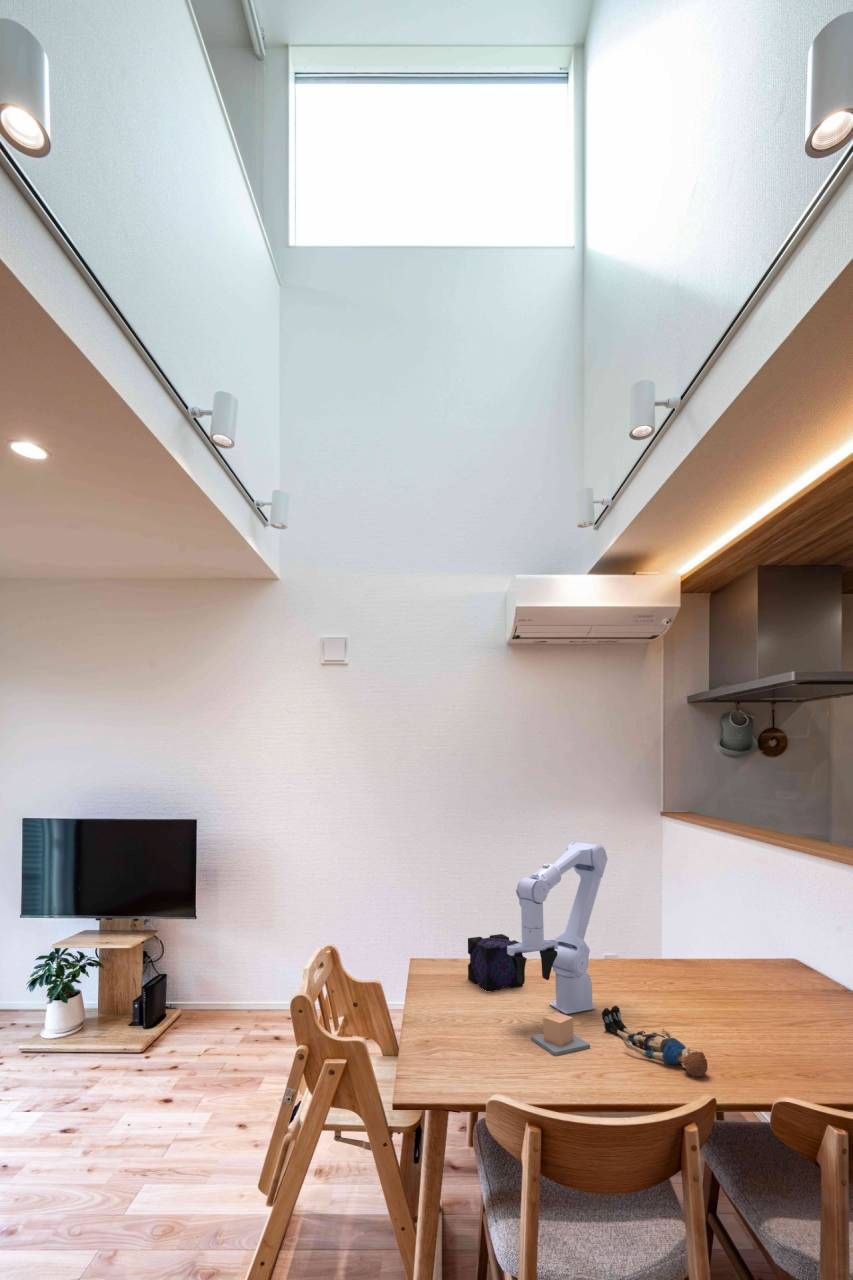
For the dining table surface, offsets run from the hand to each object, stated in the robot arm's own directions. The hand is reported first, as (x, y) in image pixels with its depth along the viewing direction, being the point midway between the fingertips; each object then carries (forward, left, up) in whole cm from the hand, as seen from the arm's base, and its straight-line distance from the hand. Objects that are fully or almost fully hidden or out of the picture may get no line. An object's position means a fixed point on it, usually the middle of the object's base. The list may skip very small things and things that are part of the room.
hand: (533, 980), depth 184 cm
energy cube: (-6, -30, -10) cm, 32 cm away
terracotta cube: (+2, +14, -9) cm, 17 cm away
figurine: (-15, +27, -10) cm, 33 cm away
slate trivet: (+2, +14, -10) cm, 17 cm away
